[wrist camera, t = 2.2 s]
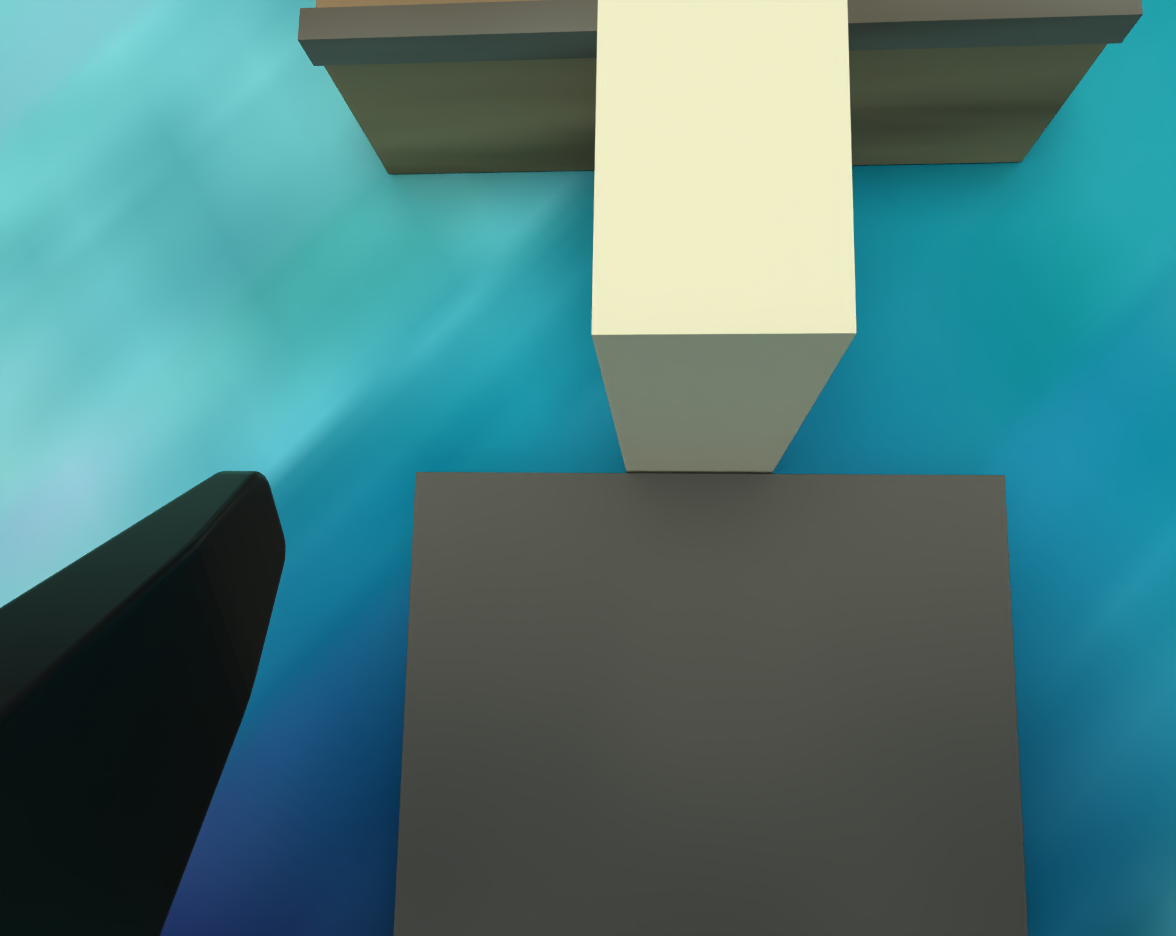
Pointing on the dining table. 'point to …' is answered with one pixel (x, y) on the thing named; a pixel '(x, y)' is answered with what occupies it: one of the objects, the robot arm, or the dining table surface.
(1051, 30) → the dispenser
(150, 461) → the dining table surface
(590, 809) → the mat
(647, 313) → the cream pillar
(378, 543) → the dining table surface
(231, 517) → the robot arm
